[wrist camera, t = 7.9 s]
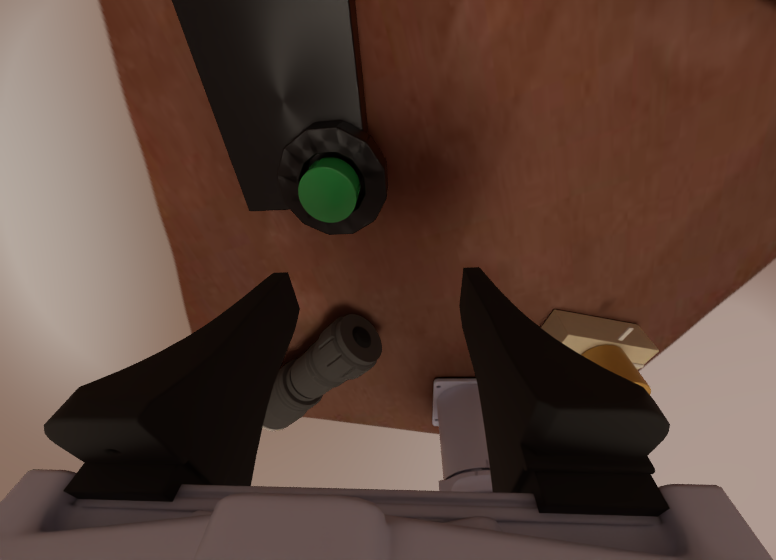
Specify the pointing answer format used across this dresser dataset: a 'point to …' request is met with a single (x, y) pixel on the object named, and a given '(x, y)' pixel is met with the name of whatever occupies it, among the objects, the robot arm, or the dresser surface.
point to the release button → (329, 190)
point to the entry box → (287, 97)
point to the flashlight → (322, 369)
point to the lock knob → (616, 363)
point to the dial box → (600, 335)
